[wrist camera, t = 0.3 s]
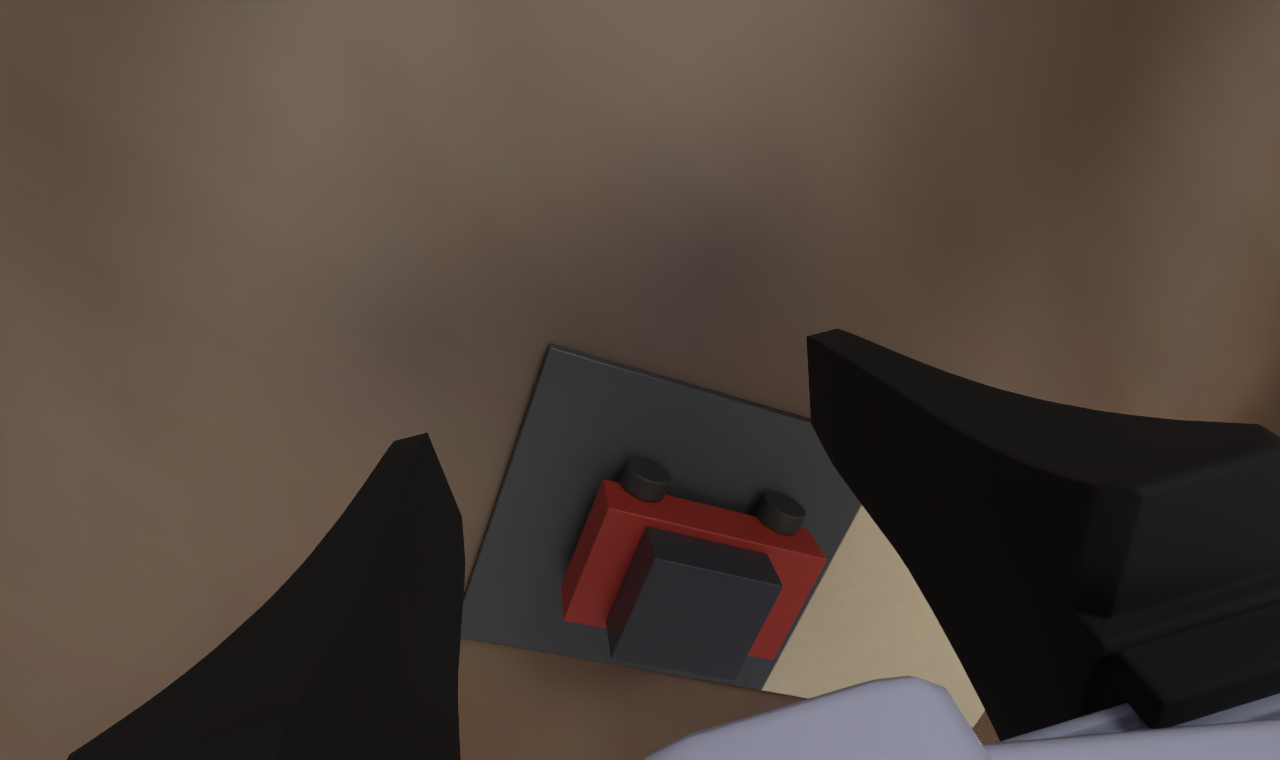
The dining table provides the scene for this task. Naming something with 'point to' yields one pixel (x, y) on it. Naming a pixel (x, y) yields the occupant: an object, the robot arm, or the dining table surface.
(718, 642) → the toy car
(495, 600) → the road board
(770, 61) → the dining table surface
